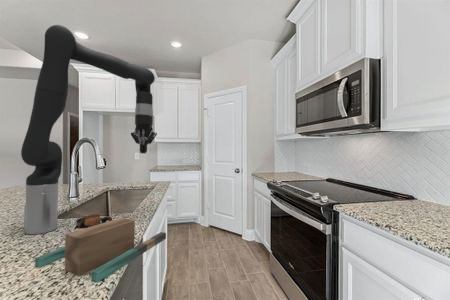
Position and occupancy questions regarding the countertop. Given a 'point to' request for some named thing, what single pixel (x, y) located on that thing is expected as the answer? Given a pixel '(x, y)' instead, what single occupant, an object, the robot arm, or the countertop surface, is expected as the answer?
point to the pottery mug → (91, 221)
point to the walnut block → (98, 245)
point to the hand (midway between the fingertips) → (143, 153)
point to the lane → (109, 266)
